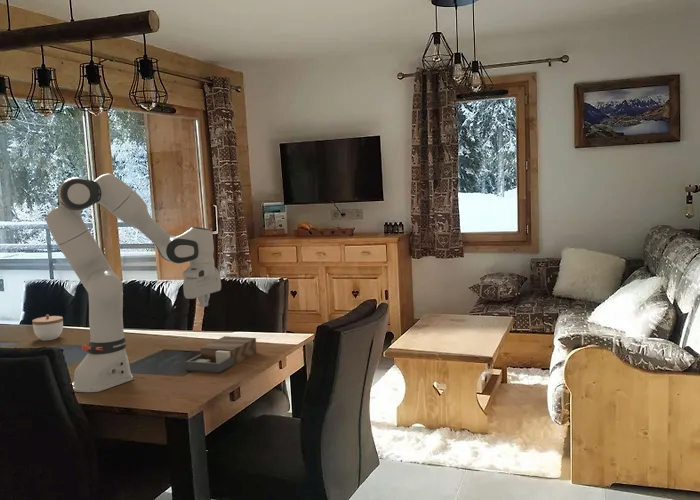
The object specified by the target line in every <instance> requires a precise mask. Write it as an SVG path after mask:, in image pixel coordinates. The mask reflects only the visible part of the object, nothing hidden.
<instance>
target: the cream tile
mask: <svg viewBox="0 0 700 500" xmlns="http://www.w3.org/2000/svg"><path fill="white" fill-rule="evenodd" d="M229 357H230V351H220V350H218V351H216V363H220V362H222V361H224V360H225V359H227V358H229Z"/></svg>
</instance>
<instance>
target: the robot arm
mask: <svg viewBox="0 0 700 500" xmlns="http://www.w3.org/2000/svg"><path fill="white" fill-rule="evenodd" d="M95 204H99V205H101V206H103V208H105V209H106V210H107V211H109V212H110V213H111V214H112V215H113V216H114V217H116V218H117V219H118V220H120V221H121V222H122V223H124V224H127V225H129V226H131V227H133V228H134V229H137V230H138V231H139V232H141V233H142V234H143V235H144V236H145V237H146V238H147V239H148V240H150V241H151V242H152V244H154V245H155V248H156V249H157V252H158V254H159V255H160V257H161V258H162V259H163V260H165V261H167V262H170V263H174V264H184V263H188V262H189V266H188V267H187V268H186V269H185V270H183V271H182V278H183V283H182V285H183V286H182V287H183V296H184V298H185V299H187V300H188V299H189V300H192V299H197V301H198V302H199V307H200V308H205V307H208V306H209V300H210V298H211V294H213V293H217V292H219V291H221V290H222V280H221V275H220V272H219V269H218V268H217V267H215V259H214V250H215V248H214V247H215V246H214V238H213V234H212V231H211V230H210V229H208V228H206V227H205V228H204V227H199V226H191V227H190V229H188V230H186V231H185V232H183V233H182V234H179V235H175V234H173V233H169V232H167V231H166V230H165V229H164V228H163V226H161V225H160V224H159V223H158V222H156V220H154V219H153V217H152V216H151V215H150V213H149V210H148V204H147V203H146V202H145V200H144V199H143V198H142V197H141V196H140V195H139V194H138V192H136V190H134V189H133V188H132V187H131V186H130V185H128V184H127V183H125V182H124V181H123V180H121V179H120V178H119V177H117V176H115V175H114V174H112V173H104V174H101V175H100V176H99V177H97V178H96V179H95V180H92V179H87V178H83V177H81V176H72V177H67V178H65V179H64V180H63V181H62V182H61V183H60V185H59V186H58V188H57V206H56V207H54V208H52V209H51V211H49V212H48V213H47V215H46V217H45V221H46V225H47V227H48V229H49V232H50V234H51V236H52V238H53V241H55V243H56V245H57V247H58V248H59V249H60V251H61V252H62V254H63V256H64V257H65V259H66V260H67V262H68V263H69V265H70V267H71V268H72V270H73V271H74V273H75V274H76V276H77V278H78V280H79V281H80V283H81V284H82V287H84V289H85V290H86V292H87V295H88V322H89V323H88V325H89V337H90V338H89V339H90V340H89V344H82V346H81V350H82V351H86V352H87V354H86V355H85V357H84V358H83V359H82V360H81V361H80V363H79V364H78V365H77V367H76V368H75V370H74V373H73V382H71V383H72V385H73V389H74V391H73V392H76V393H77V392H78V393H98V392H102V391H105V390H107V389H110V388H113V387H116V386H119V385H121V384H125V383H127V382H130V381H133V380H134V376H133V374H132V372H131V367H130V366H131V365H130V361H129V356H128V354H127V351H126V348H127V340H126V336H125V332H124V331H125V330H124V321H123V320H124V317H123V315H124V314H123V310H124V309H123V308H124V299H123V298H124V295H123V294H124V291H123V290H124V288H123V287H124V286H123V282H122V280H121V277H120V276H119V275H117V274H116V272H115V271H114V270H113V269H112V266H111V265H110V264H109V262H108V260H107V258H106V257H105V254H104V252H103V251H102V248H101V247H100V245H99V244H98V242H97V241H96V239H95V238H94V235H92V233H91V231H90V230H89V228H88V226H87V225H86V223H85V222H84V219H83V218H82V211H83V210H86V209H87V208H90V207H91V206H94V205H95Z"/></svg>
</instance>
